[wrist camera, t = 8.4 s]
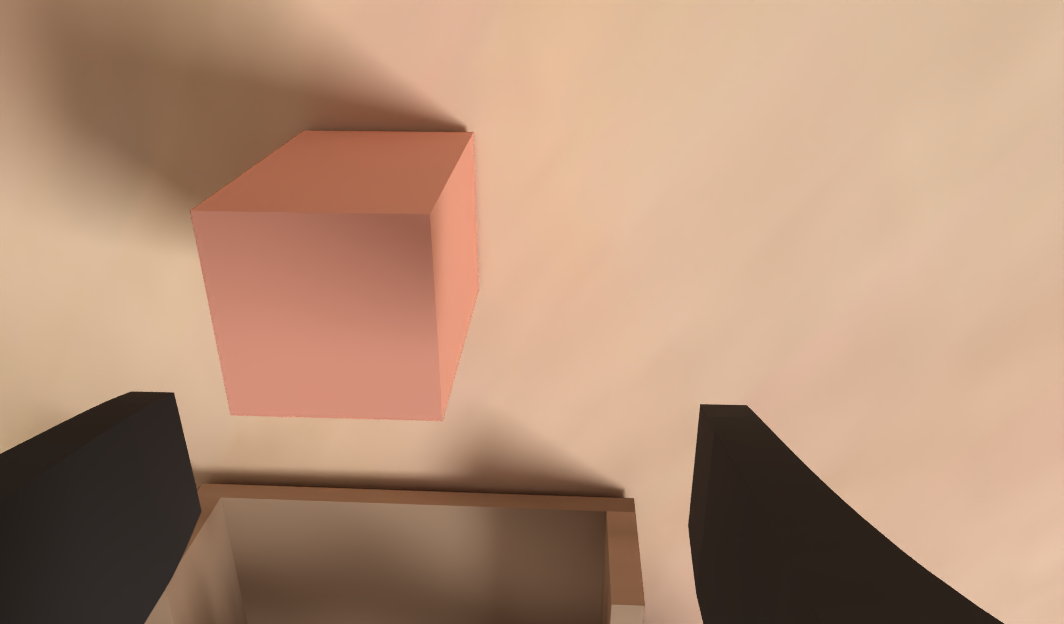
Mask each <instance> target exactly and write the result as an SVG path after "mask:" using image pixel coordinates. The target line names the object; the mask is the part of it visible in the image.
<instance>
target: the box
mask: <svg viewBox="0 0 1064 624" xmlns="http://www.w3.org/2000/svg"><path fill="white" fill-rule="evenodd" d="M197 493H198V497H199V502H200V506H201V510H202V512H201V514H200V517H199V519H198V521H197V524H196V526H195V529H194V531H193V533H192V536H191V538H190V540H189V543H188V545H187V548H186V550H185V552H184V554H183V556H182V558H181V560H180V563H179V565H178V567H177V569H176V571H175V573H174V575H173V577H172V579H171V581H170V582H169V584H168V586H167V587H166V589H165V591H164V592H163V594H162V596H161V597H160V599H159V601H158V602H157V604H156V606H155V607H154V609H153V610H152V612H151V614H150V615H149V617H148V619H147V620H146V622H145V624H643V623H644V611H645V601H644V592H643V582H642V572H641V562H640V553H639V543H638V533H637V524H636V514H635V504H634V498H608V497H579V496H550V495H522V494H493V493H464V492H435V491H406V490H377V489H349V488H320V487H291V486H262V485H233V484H205V483H202V485H201V486H200V488H199V489H198V491H197Z"/></svg>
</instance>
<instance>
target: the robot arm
mask: <svg viewBox="0 0 1064 624" xmlns="http://www.w3.org/2000/svg"><path fill="white" fill-rule="evenodd" d="M201 512H202V510H201V506H200V502H199V497H198V493H197V489H196V484H195V480H194V476H193V472H192V467H191V463H190V459H189V455H188V450H187V446H186V442H185V438H184V433H183V429H182V425H181V421H180V416H179V412H178V408H177V404H176V399H175V395H174V393H170V392H129V393H126V394H124V395H121V396H118V397H116V398H113V399H111V400H109V401H106V402H104V403H102V404H100V405H98V406H96V407H93V408H91V409H89V410H87V411H85V412H83V413H81V414H79V415H77V416H75V417H73V418H71V419H69V420H67V421H65V422H63V423H61V424H59V425H57V426H55V427H53V428H51V429H49V430H47V431H45V432H43V433H41V434H39V435H37V436H35V437H33V438H31V439H29V440H27V441H25V442H23V443H21V444H19V445H17V446H15V447H13V448H11V449H9V450H7V451H5V452H3V453H1V454H0V624H145V622H146V620H147V619H148V617H149V615H150V614H151V612H152V610H153V609H154V607H155V606H156V604H157V602H158V601H159V599H160V597H161V596H162V594H163V592H164V591H165V589H166V587H167V586H168V584H169V582H170V581H171V579H172V577H173V575H174V573H175V571H176V569H177V567H178V565H179V563H180V560H181V558H182V556H183V554H184V552H185V550H186V548H187V545H188V543H189V540H190V538H191V536H192V533H193V531H194V529H195V526H196V524H197V521H198V519H199V517H200V514H201ZM688 528H689V537H690V546H691V554H692V563H693V571H694V579H695V587H696V594H697V599H698V603H699V607H700V611H701V616H702V620H703V624H1004V623H1002V622H1001V621H999V620H998V619H996V618H995V617H993V616H992V615H990V614H989V613H987V612H986V611H984V610H983V609H981V608H980V607H978V606H977V605H975V604H974V603H973V602H971V601H970V600H968V599H967V598H966V597H964V596H963V595H961V594H960V593H959V592H957V591H956V590H954V589H953V588H952V587H950V586H949V585H947V584H946V583H945V582H943V581H942V580H940V579H939V578H938V577H936V576H935V575H933V574H932V573H931V572H929V571H928V570H927V569H925V568H924V567H923V566H921V565H920V564H919V563H917V562H916V561H915V560H914V559H912V558H911V557H910V556H908V555H907V554H906V553H905V552H903V551H902V550H901V549H900V548H898V547H897V546H896V545H895V544H894V543H892V542H891V541H890V540H889V539H888V538H886V537H885V536H884V535H883V534H882V533H880V532H879V531H878V530H877V529H876V528H874V527H873V526H872V525H871V524H870V523H868V522H867V521H866V520H865V519H864V518H862V517H861V516H860V515H859V514H858V513H857V512H856V511H855V510H853V509H852V508H851V507H850V506H849V505H848V504H847V503H846V502H844V501H843V500H842V499H841V498H840V497H839V496H838V495H837V494H836V493H835V492H834V491H832V490H831V489H830V488H829V487H828V486H827V485H826V484H825V483H824V482H823V481H822V480H821V479H820V478H819V477H818V476H817V475H816V474H814V473H813V472H812V471H811V470H810V469H809V468H808V467H807V466H806V465H805V464H804V463H803V462H802V461H801V460H800V459H799V458H798V457H797V456H796V455H795V454H794V453H793V452H792V451H791V450H790V449H789V448H788V447H787V446H786V445H785V444H784V443H783V442H782V441H781V440H780V439H779V438H778V437H777V436H776V435H775V433H774V432H773V431H772V430H771V429H770V428H769V427H768V426H767V425H766V424H765V423H764V422H763V421H762V420H761V419H760V418H759V417H758V416H757V415H756V414H755V413H754V412H753V411H752V410H751V409H750V408H749V407H748V406H747V405H709V404H700V413H699V423H698V433H697V443H696V453H695V463H694V473H693V483H692V493H691V503H690V514H689V524H688Z"/></svg>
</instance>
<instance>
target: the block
mask: <svg viewBox="0 0 1064 624" xmlns="http://www.w3.org/2000/svg"><path fill="white" fill-rule="evenodd" d="M190 213H191V218H192V223H193V228H194V233H195V238H196V243H197V248H198V253H199V258H200V263H201V268H202V274H203V279H204V284H205V289H206V294H207V299H208V304H209V309H210V314H211V319H212V324H213V329H214V334H215V339H216V344H217V349H218V354H219V359H220V364H221V369H222V374H223V379H224V384H225V389H226V394H227V399H228V404H229V409H230V414H231V415H238V416H276V417H313V418H351V419H389V420H426V421H443V418H444V414H445V411H446V407H447V403H448V400H449V396H450V393H451V389H452V385H453V382H454V378H455V374H456V371H457V367H458V364H459V360H460V356H461V353H462V349H463V346H464V342H465V338H466V335H467V331H468V328H469V324H470V320H471V317H472V313H473V310H474V306H475V302H476V299H477V295H478V291H479V276H478V247H477V218H476V189H475V160H474V132H404V131H303V132H301V133H300V134H298V135H297V136H295V137H294V138H293V139H291V140H290V141H288V142H287V143H286V144H284V145H283V146H281V147H280V148H278V149H277V150H276V151H274V152H273V153H271V154H270V155H269V156H267V157H266V158H264V159H263V160H261V161H260V162H259V163H257V164H256V165H254V166H253V167H252V168H250V169H249V170H247V171H246V172H244V173H243V174H242V175H240V176H239V177H237V178H236V179H235V180H233V181H232V182H230V183H229V184H227V185H226V186H225V187H223V188H222V189H220V190H219V191H218V192H216V193H215V194H213V195H212V196H210V197H209V198H208V199H206V200H205V201H203V202H202V203H201V204H199V205H198V206H196V207H195V208H193V209H192V210H191V211H190Z"/></svg>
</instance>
